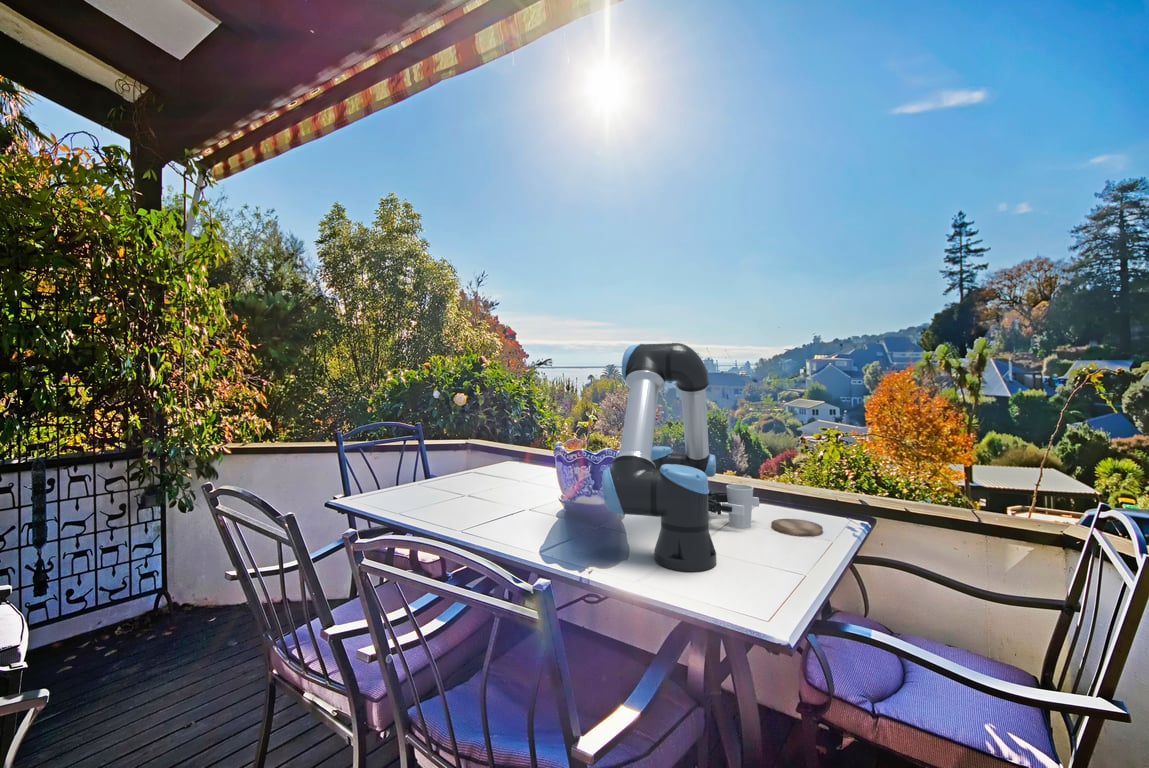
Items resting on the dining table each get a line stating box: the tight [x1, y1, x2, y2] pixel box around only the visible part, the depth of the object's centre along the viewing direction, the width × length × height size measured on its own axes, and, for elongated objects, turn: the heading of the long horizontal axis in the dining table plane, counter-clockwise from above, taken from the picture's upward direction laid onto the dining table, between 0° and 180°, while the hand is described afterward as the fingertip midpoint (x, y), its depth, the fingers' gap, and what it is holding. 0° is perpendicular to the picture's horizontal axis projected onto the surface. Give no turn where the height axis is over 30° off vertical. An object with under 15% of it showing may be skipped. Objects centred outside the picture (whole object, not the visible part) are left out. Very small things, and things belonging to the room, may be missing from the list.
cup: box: [725, 483, 754, 529], centre depth 150 cm, size 8×8×12 cm
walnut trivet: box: [771, 518, 824, 537], centre depth 146 cm, size 14×14×1 cm
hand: (751, 506), depth 148 cm, fingers open, 12 cm apart
